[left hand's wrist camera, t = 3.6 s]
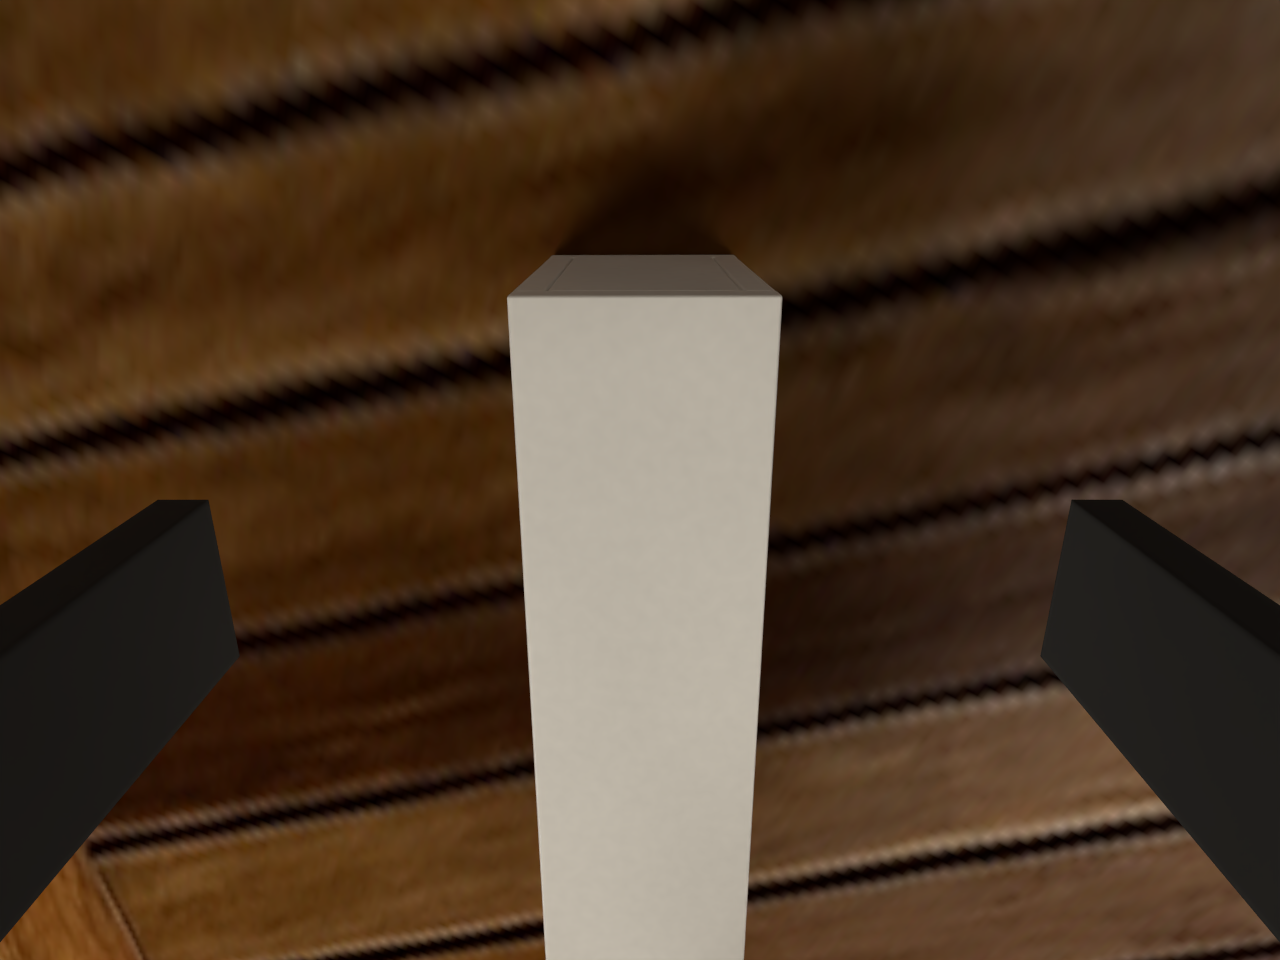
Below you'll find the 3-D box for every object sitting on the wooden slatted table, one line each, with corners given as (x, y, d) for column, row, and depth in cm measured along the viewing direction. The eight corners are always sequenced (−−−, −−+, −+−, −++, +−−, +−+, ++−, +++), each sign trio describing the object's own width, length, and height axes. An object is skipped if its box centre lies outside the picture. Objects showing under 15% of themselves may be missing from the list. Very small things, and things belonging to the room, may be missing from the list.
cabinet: (714, 797, 33) (740, 1017, 25) (572, 797, 33) (548, 1017, 25) (734, 254, 26) (783, 294, 17) (551, 254, 26) (506, 295, 17)
